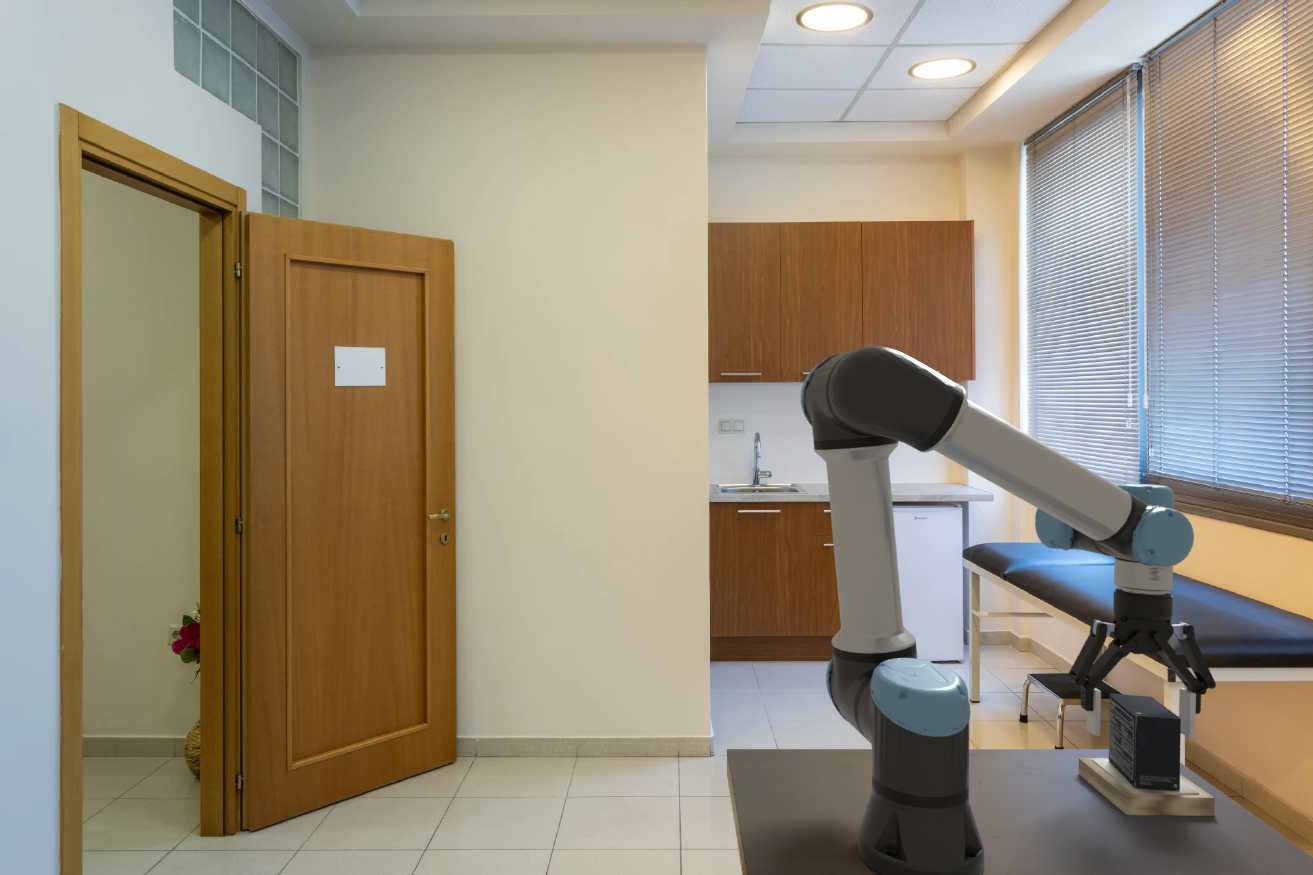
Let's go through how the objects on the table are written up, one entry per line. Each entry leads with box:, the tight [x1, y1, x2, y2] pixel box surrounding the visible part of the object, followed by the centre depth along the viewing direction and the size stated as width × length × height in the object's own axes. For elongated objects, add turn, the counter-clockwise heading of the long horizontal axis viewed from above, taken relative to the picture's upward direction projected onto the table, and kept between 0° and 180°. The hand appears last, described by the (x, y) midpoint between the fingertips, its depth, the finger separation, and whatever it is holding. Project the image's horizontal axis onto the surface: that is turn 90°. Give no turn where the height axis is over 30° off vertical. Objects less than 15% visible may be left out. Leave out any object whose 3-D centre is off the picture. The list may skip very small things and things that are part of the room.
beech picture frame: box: [1078, 757, 1216, 817], centre depth 123 cm, size 12×14×3 cm
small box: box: [1108, 692, 1182, 791], centre depth 123 cm, size 11×6×10 cm, turn 170°
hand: (1139, 733), depth 123 cm, fingers open, 13 cm apart
